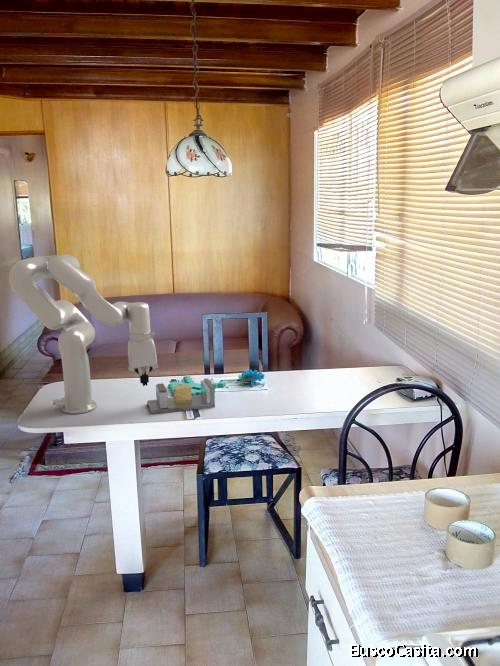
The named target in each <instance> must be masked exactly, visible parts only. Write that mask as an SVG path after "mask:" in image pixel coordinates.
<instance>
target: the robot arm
mask: <svg viewBox="0 0 500 666" xmlns="http://www.w3.org/2000/svg"><path fill="white" fill-rule="evenodd" d="M8 276H9V277H8V278H9V285H10V288H11V289H12V291H13V292H14V294H15V296H17V297H18V299H19V300H21V302H22V303H24V305H26V307H27V308H28V309H29V310H30V311H31V313H33V315H35V317H36V318H37V319H38V320H39V321H40V322H41V323H42V324H43V326H45V327H46V329H49V330H51V331H52V330H53V331H55V330H58V329H61V328H62V329H63V330H62V331H61V333H60V334H59V336H58V339H57V345H58V349H59V352H60V353H59V354H60V357H61V365H62V366H61V367H62V374H63V375H62V376H63V386H64V387H63V388H64V396H63V397H62V398H61V399H60V398H59V399H57V398H56V399H52V405H53V406H56V407H60V406H61V410H62V412H63V413H66V414H71V415H76V414H85V413H88V412H91V411H93V410H95V409H96V408H97V401H95V400H93V399H92V398H93V397H92V382H91V370H90V369H91V368H90V360H89V355H88V352H87V347H88V346H89V345H90V344H92V343H93V341H94V340H95V338H96V329H95V328H94V326H93V324H92V323H91V322H90V320H88V319H87V317H86V316H85V315H84V314H83V313H82V312H81V311H80V310H79V309H78V307H76V305H74V304H73V303H71V302H70V301H69V300H64V299H59V300H55V299H54V298H53V297H52V296H51V295H50V294H49V293H48V292H47V290H45V289H44V288H42V287H41V286H39V284H38V283H37V281H38V282H39V281H40V280H44V279H53V280H55V281H56V282H57V283H58V284H60V285H61V286H63V288H65V289H66V290H68V291H70V292H71V293H72V294H73V295H74V296H75V297H77V298H78V299H79V301H80V302H81V304H82V306H83V307H84V308H85V310H86V311H87V312H88V314H90V315H91V316H93V317H94V318H95V319H96V320H98V321H99V323H100V322H101V323H102V324H103V325H105V326H107V327H110V328H116V327H119V326H120V325H122V324H123V323H125V322H128V327H129V328H128V329H129V339H130V340H128V342H127V362H128V371H129V372H132V373H133V372H134V373H137V374H138V375H139V381H140V382H139V383H140V384H142V386H143V387H145V386H146V387H147V386H148V383H150V380H149V379H150V377H149V375H150V373H151V372H152V371H153V370H155V369H158V368H159V364H158V356H157V351H156V345H155V341H154V338H153V337H155V336H156V332H155V331H151V330H152V329H151V317H150V315H151V314H150V308H149V307H150V306H149V304H148V303H147V302H142V301H139V302H127V301H117V302H114V303H113V304H112V303H110V302H109V301H108V300H106V299H105V298H103V296H102V295H101V294H100V293H99V292H98V289H97V285H96V282H95V279H94V278H93V277H91V276H90V275H88V274H87V273H86V272H84V271H83V270H82V269H81V264H80V262H79V260H78V258H77V257H76V256H74V255H72V254H69V253H68V254H67V253H65V254H57V255H41V256H40V255H39V256H33V257H28V258H25V259H21V260H18V261H17V262H16V263H14V264H13V265H12V267H11V269H10V271H9V275H8ZM142 368H143V369H144V372H143V370H142Z"/></svg>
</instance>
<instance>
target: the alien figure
mask: <svg viewBox="0 0 500 666" xmlns="http://www.w3.org/2000/svg"><path fill="white" fill-rule="evenodd" d="M182 379H183V382H181V381H176V380H174V381H172V382H170V383H168V384H167V388H168V389H169V392H170V394H171V396H172V397H174V386H177V385H187V384H189V385H190V386H191V395H192V396H193V395H201V383H197V382H194V380H193V378H191V375H184V376H183V378H182ZM211 383H212V384H213V386H214V387H215V389H218V388H225V387H227V382H226V381H220V382H216V381H215V382H214V381H213V382H211Z"/></svg>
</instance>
